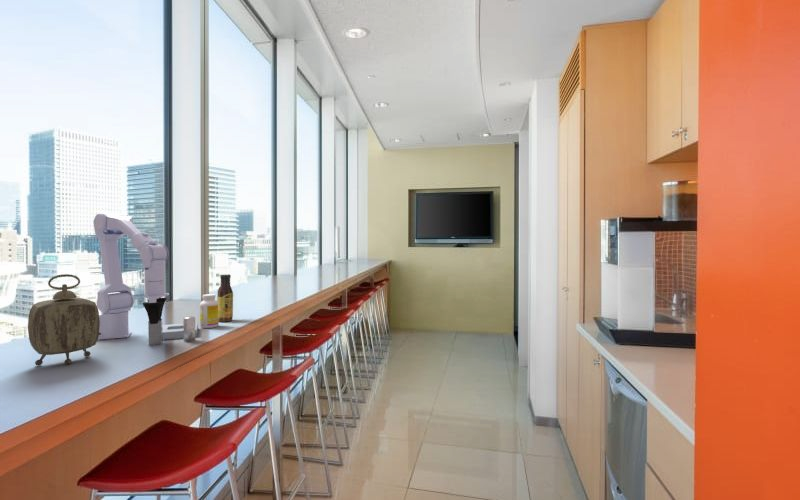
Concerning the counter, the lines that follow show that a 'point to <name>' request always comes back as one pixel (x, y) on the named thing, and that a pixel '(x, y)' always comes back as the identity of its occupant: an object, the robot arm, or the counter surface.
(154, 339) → the square bit
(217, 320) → the supplement bottle
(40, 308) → the tabletop clock
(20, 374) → the counter surface
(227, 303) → the sauce bottle
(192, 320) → the round bit
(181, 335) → the bore block
